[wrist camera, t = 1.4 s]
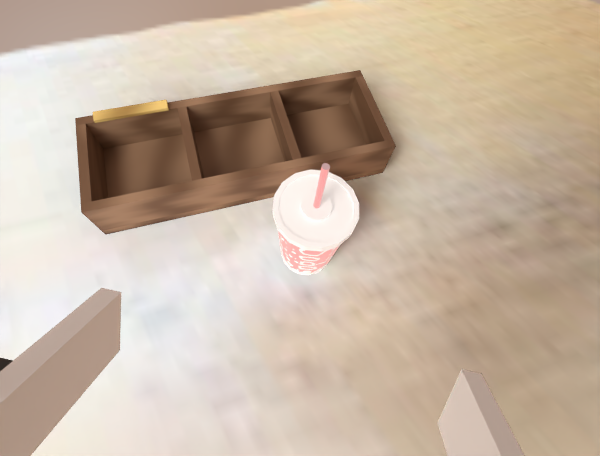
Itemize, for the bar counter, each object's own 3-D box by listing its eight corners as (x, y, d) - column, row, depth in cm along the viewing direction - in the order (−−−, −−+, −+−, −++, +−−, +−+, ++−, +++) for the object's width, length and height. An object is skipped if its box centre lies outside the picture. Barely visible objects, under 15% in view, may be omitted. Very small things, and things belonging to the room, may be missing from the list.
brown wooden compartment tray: (350, 100, 41) (359, 65, 37) (382, 172, 37) (396, 144, 33) (97, 146, 36) (73, 113, 32) (105, 234, 33) (79, 210, 28)
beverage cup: (264, 272, 32) (257, 197, 20) (283, 213, 35) (288, 112, 22) (330, 291, 32) (367, 228, 19) (345, 230, 35) (387, 138, 22)
